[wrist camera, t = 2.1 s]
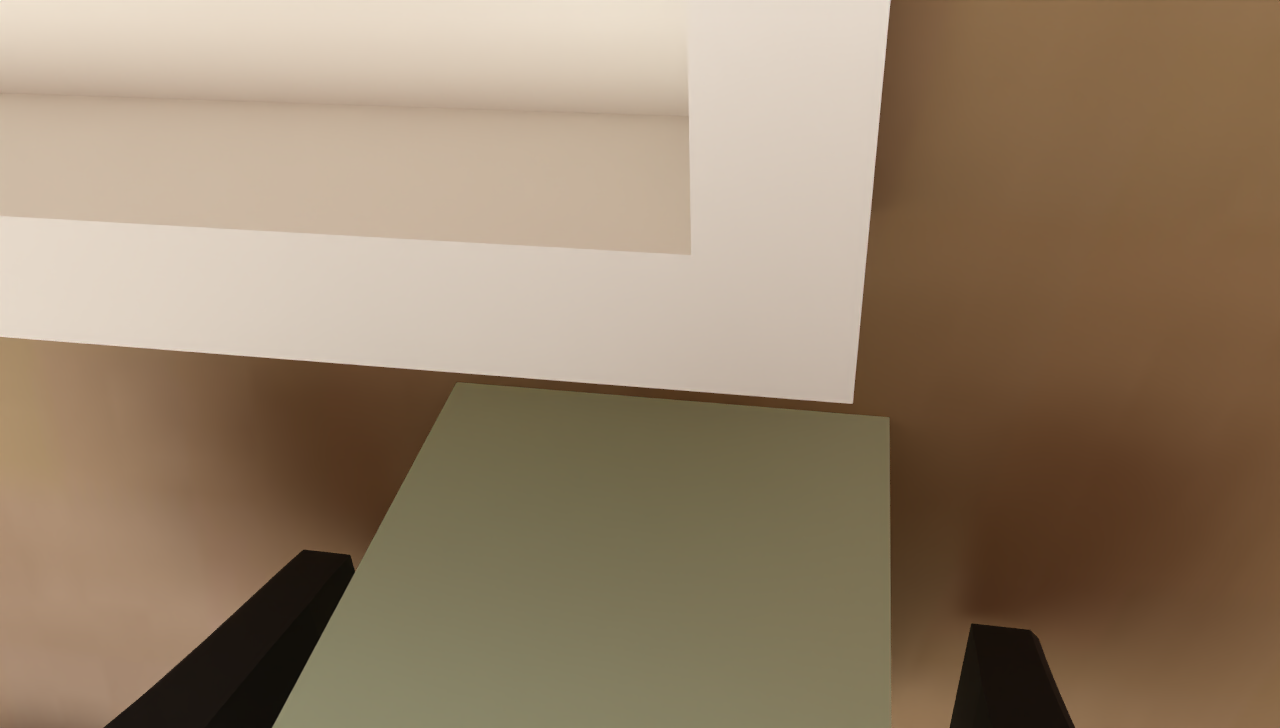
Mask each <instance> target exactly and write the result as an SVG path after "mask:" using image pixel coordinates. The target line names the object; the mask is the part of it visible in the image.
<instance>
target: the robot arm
mask: <svg viewBox="0 0 1280 728" xmlns="http://www.w3.org/2000/svg"><path fill="white" fill-rule="evenodd" d="M354 573H355V570H354V566H353V563H352V559H351V556H350V555H346V554H337V553H328V552H319V551H310V550H303V551H301V552H300V553H299V554H298V555H297V556H296V557H295V558H293V559H292V560H291V561H290V562H289V563H288V564H287V565H286V566H285V567H283V568H282V569H281V570H280V571H279V572H278V573H277V574H276V575H275V576H274V577H272V578H271V579H270V580H269V581H268V582H267V583H266V584H265V585H264V586H263V587H262V588H261V589H260V590H258V591H257V592H256V593H255V594H254V595H253V596H252V597H251V598H250V599H249V600H248V601H247V602H246V603H244V604H243V605H242V606H241V607H240V608H239V609H238V610H237V611H236V612H235V613H234V614H233V615H232V616H230V617H229V618H228V619H227V620H226V621H225V622H224V623H223V624H222V625H221V626H220V627H219V628H217V629H216V630H215V631H214V632H213V633H212V634H211V635H210V636H209V637H208V638H207V639H205V640H204V641H203V642H202V643H201V644H200V645H199V646H198V647H197V648H195V649H194V650H193V651H192V652H191V653H190V654H189V655H188V656H186V657H185V658H184V659H183V660H182V661H181V662H180V663H179V664H177V665H176V666H175V667H174V668H173V669H172V670H171V671H170V672H169V673H167V674H166V675H165V676H164V677H163V678H162V679H161V680H160V681H158V682H157V683H156V684H155V685H154V686H153V687H152V688H150V689H149V690H148V691H147V692H146V693H145V694H143V695H142V696H141V697H140V698H139V699H138V700H136V701H135V702H134V703H133V704H132V705H130V706H129V707H128V708H127V709H126V710H124V711H123V712H122V713H121V714H119V715H118V716H117V717H116V718H115V719H113V720H112V721H111V722H110V723H109V724H107V725H106V726H105V727H104V728H272V727H273V725H274V723H275V721H276V720H277V718H278V716H279V714H280V712H281V710H282V708H283V706H284V705H285V703H286V701H287V699H288V697H289V695H290V693H291V691H292V690H293V688H294V686H295V684H296V682H297V680H298V678H299V676H300V675H301V673H302V671H303V669H304V667H305V665H306V663H307V661H308V660H309V658H310V656H311V654H312V652H313V650H314V648H315V646H316V645H317V643H318V641H319V639H320V637H321V635H322V633H323V631H324V630H325V628H326V626H327V624H328V622H329V620H330V618H331V616H332V615H333V613H334V611H335V609H336V607H337V605H338V603H339V601H340V600H341V598H342V596H343V594H344V592H345V590H346V588H347V586H348V585H349V583H350V581H351V579H352V577H353V575H354ZM950 728H1075V726H1074V724H1073V722H1072V720H1071V718H1070V716H1069V713H1068V711H1067V709H1066V706H1065V704H1064V702H1063V700H1062V697H1061V695H1060V693H1059V690H1058V688H1057V685H1056V683H1055V680H1054V678H1053V675H1052V673H1051V670H1050V668H1049V665H1048V663H1047V660H1046V658H1045V655H1044V652H1043V649H1042V647H1041V644H1040V641H1039V638H1038V637H1037V636H1036V635H1035V634H1034V633H1033V632H1032V631H1031V630H1025V629H1016V628H1007V627H998V626H989V625H980V624H971V628H970V632H969V637H968V642H967V647H966V652H965V656H964V661H963V666H962V671H961V676H960V681H959V685H958V690H957V695H956V700H955V705H954V709H953V714H952V719H951V724H950Z"/></svg>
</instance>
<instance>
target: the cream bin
mask: <svg viewBox="0 0 1280 728" xmlns="http://www.w3.org/2000/svg"><path fill="white" fill-rule="evenodd" d="M889 11H890V0H0V337H10V338H22V339H35V340H48V341H61V342H73V343H86V344H99V345H111V346H124V347H137V348H149V349H162V350H175V351H188V352H200V353H213V354H226V355H238V356H251V357H264V358H276V359H289V360H302V361H315V362H327V363H340V364H353V365H365V366H378V367H391V368H403V369H416V370H429V371H442V372H454V373H467V374H480V375H492V376H505V377H518V378H530V379H543V380H556V381H569V382H581V383H594V384H607V385H619V386H632V387H645V388H658V389H670V390H683V391H696V392H708V393H721V394H734V395H746V396H759V397H772V398H785V399H797V400H810V401H823V402H835V403H848V404H853V396H854V385H855V374H856V364H857V353H858V342H859V332H860V321H861V310H862V299H863V289H864V278H865V267H866V257H867V246H868V235H869V225H870V214H871V203H872V193H873V182H874V171H875V161H876V150H877V139H878V129H879V118H880V107H881V97H882V86H883V75H884V65H885V54H886V43H887V33H888V22H889Z"/></svg>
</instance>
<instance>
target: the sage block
mask: <svg viewBox="0 0 1280 728" xmlns="http://www.w3.org/2000/svg"><path fill="white" fill-rule="evenodd" d="M272 728H891V570H890V417H880V416H868V415H856V414H844V413H831V412H819V411H807V410H795V409H782V408H770V407H758V406H745V405H733V404H721V403H709V402H696V401H684V400H672V399H660V398H647V397H635V396H623V395H610V394H598V393H586V392H574V391H561V390H549V389H537V388H525V387H512V386H500V385H488V384H475V383H463V382H456V384H455V386H454V388H453V390H452V392H451V393H450V395H449V397H448V399H447V401H446V403H445V405H444V407H443V408H442V410H441V412H440V414H439V416H438V418H437V420H436V422H435V423H434V425H433V427H432V429H431V431H430V433H429V435H428V437H427V438H426V440H425V442H424V444H423V446H422V448H421V450H420V452H419V453H418V455H417V457H416V459H415V461H414V463H413V465H412V467H411V468H410V470H409V472H408V474H407V476H406V478H405V480H404V482H403V483H402V485H401V487H400V489H399V491H398V493H397V495H396V497H395V498H394V500H393V502H392V504H391V506H390V508H389V510H388V512H387V513H386V515H385V517H384V519H383V521H382V523H381V525H380V526H379V528H378V530H377V532H376V534H375V536H374V538H373V540H372V541H371V543H370V545H369V547H368V549H367V551H366V553H365V555H364V556H363V558H362V560H361V562H360V564H359V566H358V568H357V570H356V571H355V573H354V575H353V577H352V579H351V581H350V583H349V585H348V586H347V588H346V590H345V592H344V594H343V596H342V598H341V600H340V601H339V603H338V605H337V607H336V609H335V611H334V613H333V615H332V616H331V618H330V620H329V622H328V624H327V626H326V628H325V630H324V631H323V633H322V635H321V637H320V639H319V641H318V643H317V645H316V646H315V648H314V650H313V652H312V654H311V656H310V658H309V660H308V661H307V663H306V665H305V667H304V669H303V671H302V673H301V675H300V676H299V678H298V680H297V682H296V684H295V686H294V688H293V690H292V691H291V693H290V695H289V697H288V699H287V701H286V703H285V705H284V706H283V708H282V710H281V712H280V714H279V716H278V718H277V720H276V721H275V723H274V725H273V727H272Z"/></svg>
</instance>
